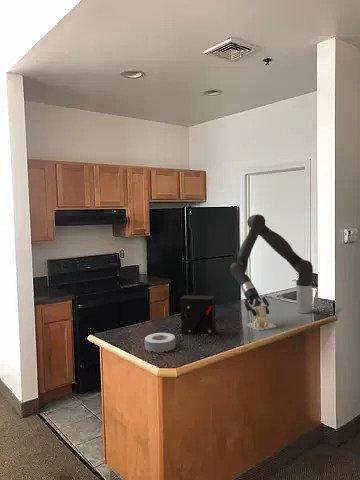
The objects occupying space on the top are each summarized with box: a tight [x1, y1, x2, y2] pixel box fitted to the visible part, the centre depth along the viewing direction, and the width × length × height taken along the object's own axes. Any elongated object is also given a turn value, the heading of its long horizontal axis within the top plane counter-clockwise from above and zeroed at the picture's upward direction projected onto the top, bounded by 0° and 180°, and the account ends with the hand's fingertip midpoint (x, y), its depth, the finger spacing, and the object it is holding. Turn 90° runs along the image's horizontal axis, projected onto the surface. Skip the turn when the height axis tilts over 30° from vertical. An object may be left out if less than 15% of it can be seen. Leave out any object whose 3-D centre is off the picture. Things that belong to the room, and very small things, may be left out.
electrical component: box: [179, 295, 217, 336], centre depth 222 cm, size 18×10×20 cm, turn 71°
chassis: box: [245, 318, 277, 331], centre depth 228 cm, size 12×12×4 cm
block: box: [255, 306, 267, 326], centre depth 228 cm, size 4×4×10 cm
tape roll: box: [144, 332, 176, 353], centre depth 201 cm, size 15×15×5 cm
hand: (262, 314), depth 226 cm, fingers open, 8 cm apart
